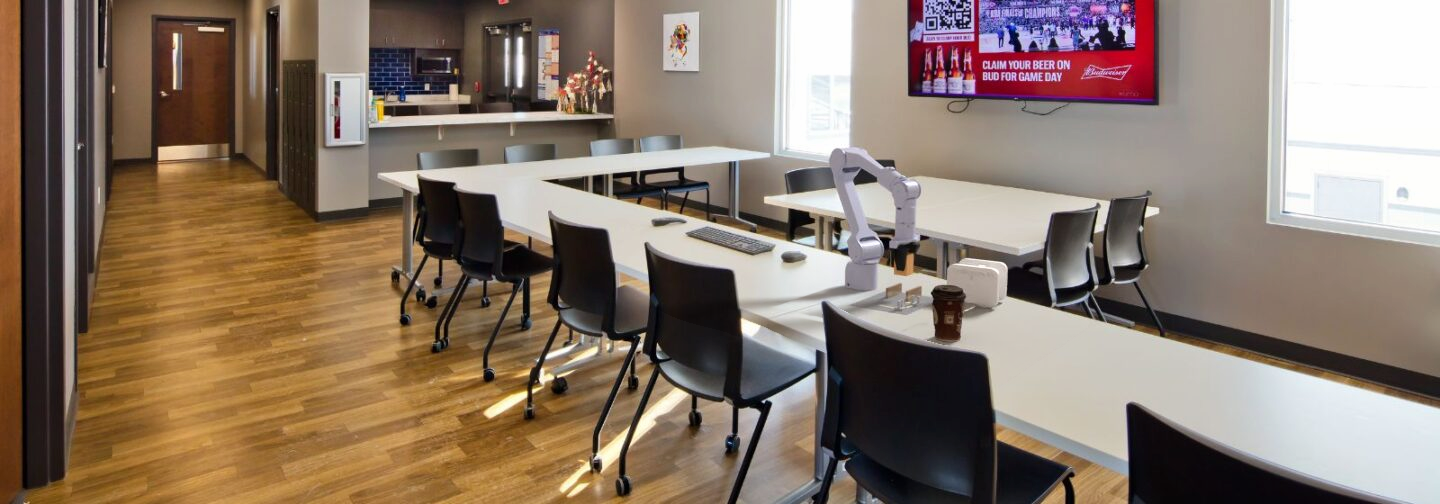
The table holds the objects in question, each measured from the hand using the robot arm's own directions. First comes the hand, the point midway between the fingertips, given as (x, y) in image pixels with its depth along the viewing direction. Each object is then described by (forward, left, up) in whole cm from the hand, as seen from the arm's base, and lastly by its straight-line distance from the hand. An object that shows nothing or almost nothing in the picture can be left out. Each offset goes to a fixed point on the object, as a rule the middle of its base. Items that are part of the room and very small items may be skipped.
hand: (904, 269), depth 267 cm
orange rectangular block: (0, 0, -2) cm, 2 cm away
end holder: (0, 0, -8) cm, 8 cm away
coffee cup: (+27, -28, -10) cm, 40 cm away
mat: (+1, -6, -9) cm, 11 cm away
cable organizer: (+18, +10, -10) cm, 23 cm away
